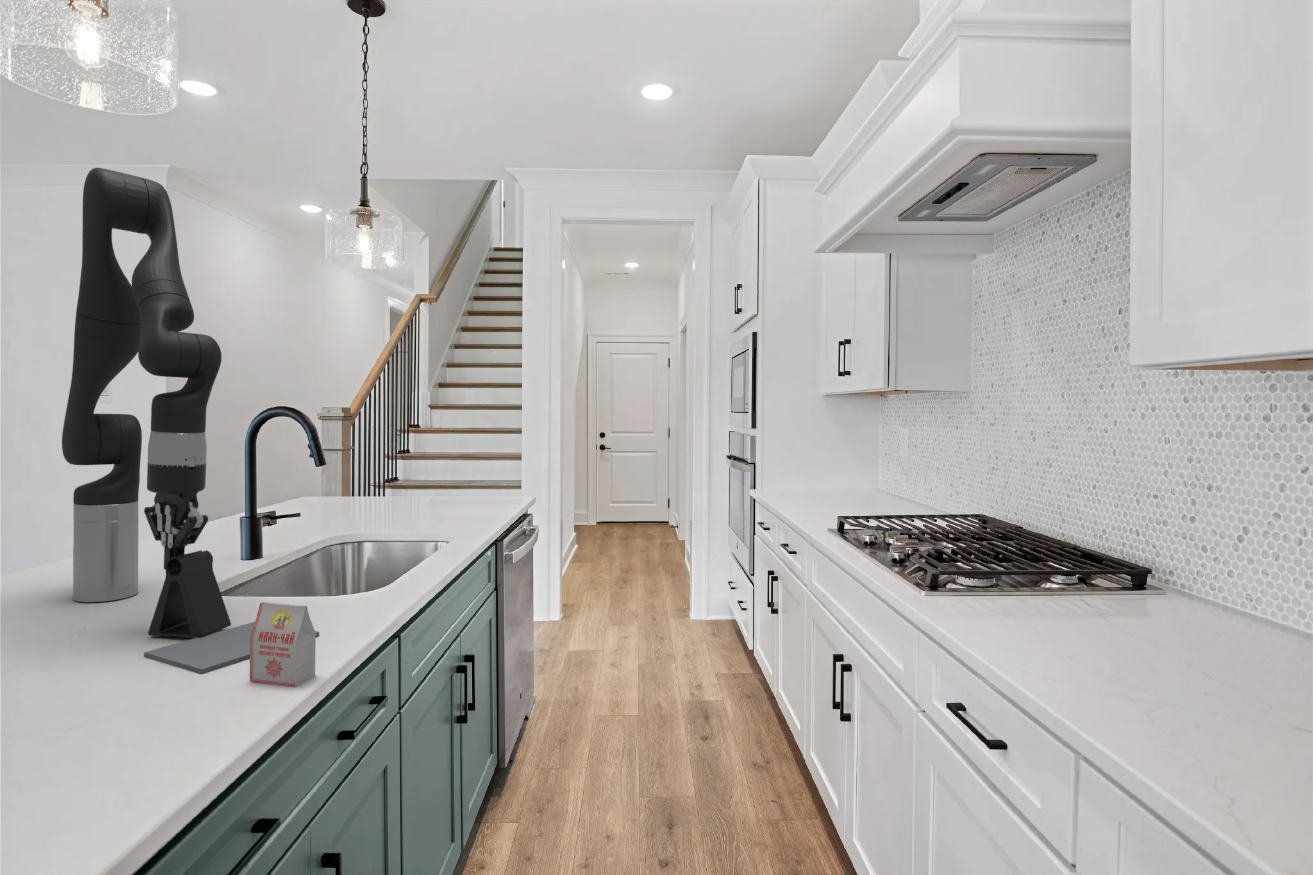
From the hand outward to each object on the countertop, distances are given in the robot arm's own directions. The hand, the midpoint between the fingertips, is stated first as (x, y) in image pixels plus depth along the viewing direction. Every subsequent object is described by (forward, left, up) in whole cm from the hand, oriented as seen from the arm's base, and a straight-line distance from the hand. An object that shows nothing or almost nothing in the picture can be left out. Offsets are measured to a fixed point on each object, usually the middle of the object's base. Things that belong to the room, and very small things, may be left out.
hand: (173, 569), depth 108 cm
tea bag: (+32, -5, -10) cm, 34 cm away
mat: (+15, 0, -10) cm, 18 cm away
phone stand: (+4, 0, -9) cm, 10 cm away
